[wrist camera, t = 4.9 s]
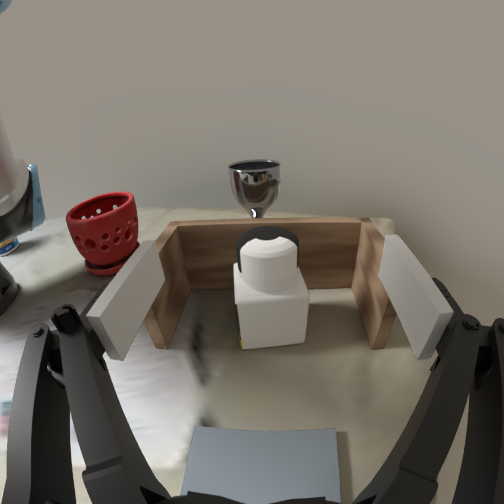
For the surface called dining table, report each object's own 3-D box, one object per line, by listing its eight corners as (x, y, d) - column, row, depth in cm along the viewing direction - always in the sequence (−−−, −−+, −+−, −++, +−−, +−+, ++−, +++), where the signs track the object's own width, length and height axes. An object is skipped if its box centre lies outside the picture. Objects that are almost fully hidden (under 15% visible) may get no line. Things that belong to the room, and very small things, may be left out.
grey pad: (337, 551, 9) (340, 552, 8) (175, 544, 10) (171, 544, 9) (333, 432, 19) (335, 427, 18) (197, 429, 20) (194, 425, 20)
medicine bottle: (238, 308, 35) (229, 222, 29) (293, 303, 35) (295, 217, 29) (241, 351, 28) (229, 257, 22) (305, 343, 29) (314, 249, 23)
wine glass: (252, 268, 43) (246, 172, 35) (227, 249, 48) (218, 165, 41) (291, 251, 46) (291, 164, 39) (263, 235, 52) (260, 157, 45)
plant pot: (73, 277, 43) (51, 218, 37) (113, 243, 54) (99, 191, 48) (118, 289, 39) (96, 219, 33) (160, 248, 50) (147, 189, 44)
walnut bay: (383, 347, 27) (408, 275, 22) (155, 347, 29) (128, 278, 24) (358, 281, 38) (368, 218, 33) (183, 282, 40) (170, 221, 35)
